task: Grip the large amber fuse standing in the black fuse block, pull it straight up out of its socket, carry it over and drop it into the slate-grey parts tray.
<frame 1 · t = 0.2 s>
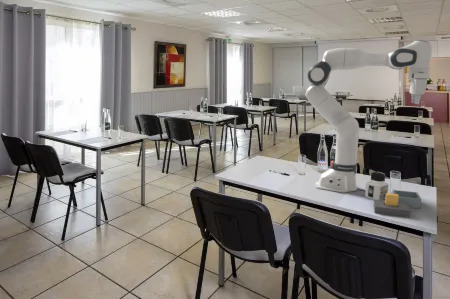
hand: (415, 103, 168), 47 cm above the table, tool pointing down, fingers open, 8 cm apart
parts tray: (405, 203, 165), on the table
fuse block: (390, 211, 154), on the table
fuse: (391, 202, 154), in the fuse block
container: (375, 197, 173), on the table
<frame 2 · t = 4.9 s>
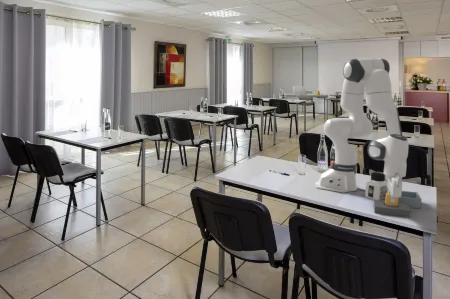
hand: (391, 200, 153), 5 cm above the table, tool pointing down, fingers closed on fuse, 2 cm apart
fuse: (391, 202, 154), in the fuse block, touching gripper
everything else where it was.
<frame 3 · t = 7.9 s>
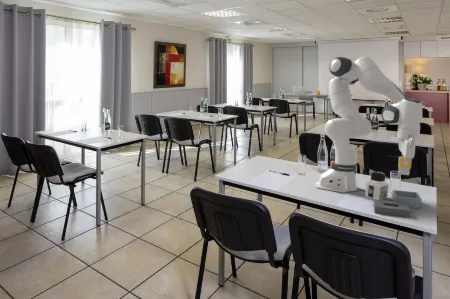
hand: (404, 163, 157), 21 cm above the table, tool pointing down, fingers closed on fuse, 2 cm apart
fuse: (404, 165, 157), point 20 cm above the table, touching gripper
everything else where it was.
when the fingers open (9 cm above the table, at t = 10.8 s): fuse drops 3 cm, resting on parts tray.
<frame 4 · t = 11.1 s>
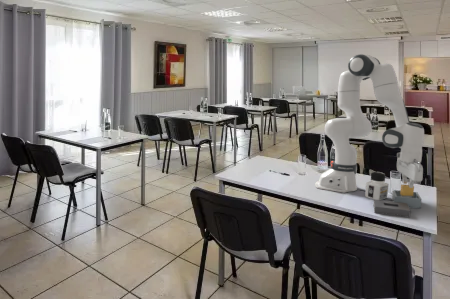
hand: (407, 185, 163), 9 cm above the table, tool pointing down, fingers open, 5 cm apart
fuse: (406, 193, 164), in the parts tray, point 5 cm above the table
everything else where it was.
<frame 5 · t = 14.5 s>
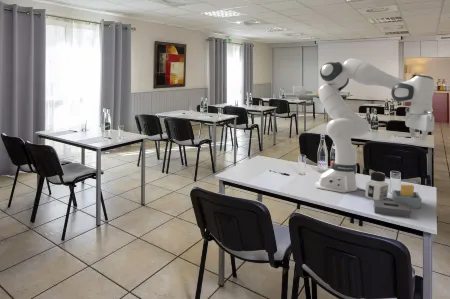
hand: (417, 138, 164), 31 cm above the table, tool pointing down, fingers open, 8 cm apart
nothing on the table moved.
at the end: fuse inside the target area on the parts tray (0.1 cm from its centre), point 5.0 cm above the parts tray's base; fuse inside the target area on the table beside the fuse block (12.0 cm from its centre), point 5.0 cm above the table; the gripper is holding nothing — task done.
